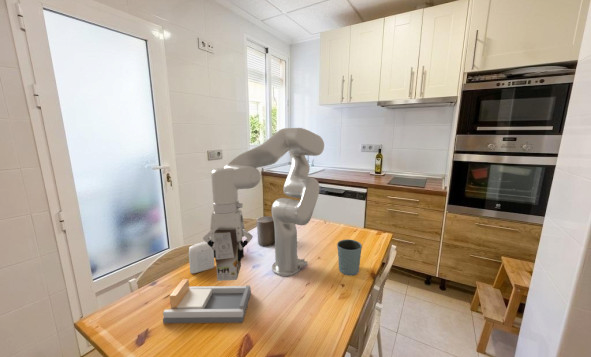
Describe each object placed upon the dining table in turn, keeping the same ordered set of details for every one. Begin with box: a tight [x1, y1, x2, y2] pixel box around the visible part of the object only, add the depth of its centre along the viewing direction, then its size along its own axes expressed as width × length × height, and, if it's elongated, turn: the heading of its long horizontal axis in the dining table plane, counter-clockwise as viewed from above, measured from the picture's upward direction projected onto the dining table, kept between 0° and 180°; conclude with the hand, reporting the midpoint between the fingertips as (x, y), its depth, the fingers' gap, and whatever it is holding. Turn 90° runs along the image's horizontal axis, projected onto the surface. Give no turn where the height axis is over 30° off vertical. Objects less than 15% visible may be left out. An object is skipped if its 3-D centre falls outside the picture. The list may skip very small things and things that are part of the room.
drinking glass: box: [336, 239, 363, 277], centre depth 102 cm, size 10×10×12 cm
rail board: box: [162, 284, 252, 324], centre depth 81 cm, size 25×14×4 cm, turn 90°
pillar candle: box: [256, 216, 275, 248], centre depth 130 cm, size 10×10×15 cm
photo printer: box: [188, 241, 216, 275], centre depth 105 cm, size 10×4×12 cm, turn 123°
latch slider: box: [169, 278, 212, 309], centre depth 81 cm, size 10×9×6 cm
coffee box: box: [214, 230, 242, 282], centre depth 78 cm, size 9×6×16 cm
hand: (229, 259), depth 79 cm, fingers closed on coffee box, 6 cm apart
